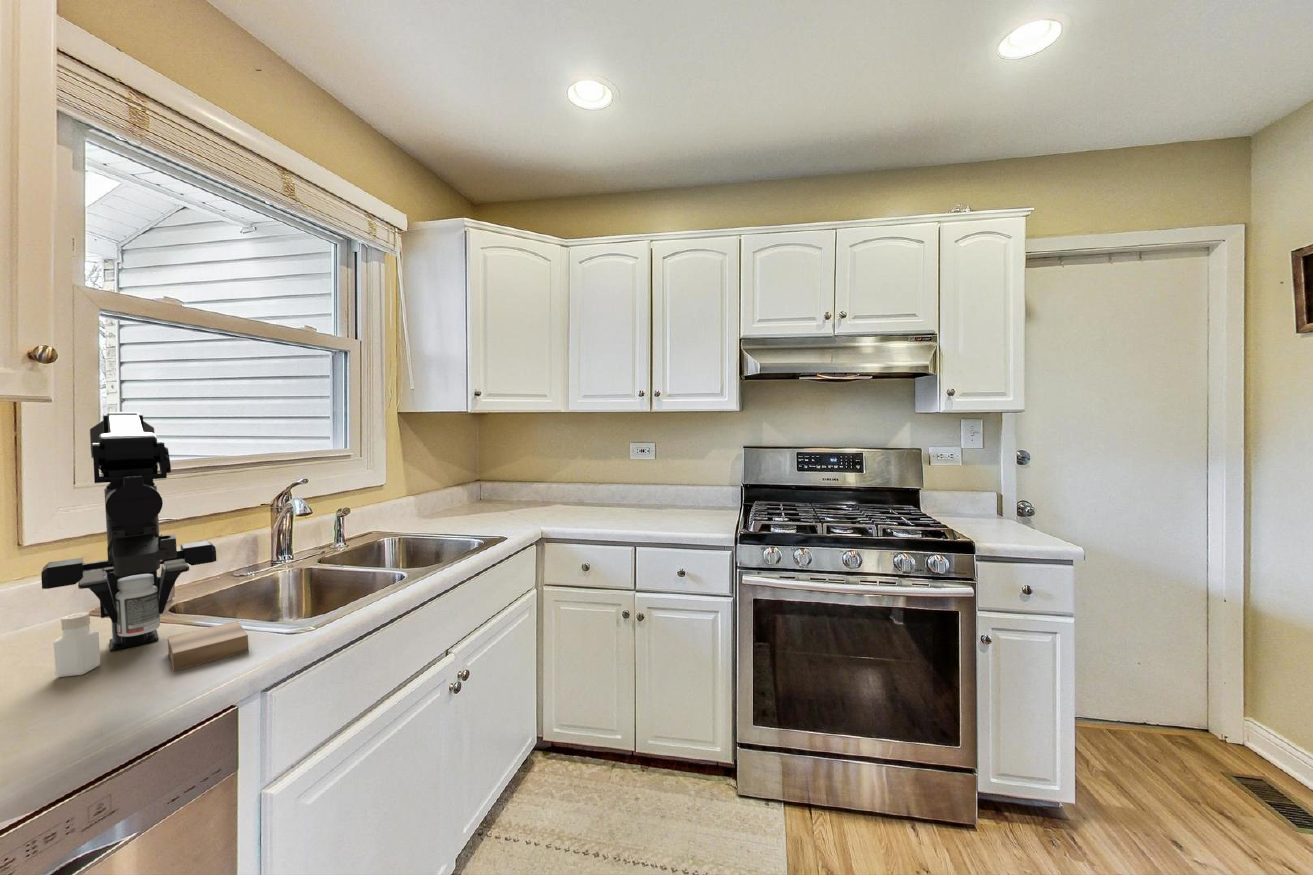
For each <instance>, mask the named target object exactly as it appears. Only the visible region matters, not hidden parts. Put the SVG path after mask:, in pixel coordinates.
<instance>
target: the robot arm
mask: <svg viewBox="0 0 1313 875" xmlns="http://www.w3.org/2000/svg"><path fill="white" fill-rule="evenodd" d="M89 437H90V438H89V440H90V443H89V444H90V451H91V452H90V454H91V455H90V456H91V459H92V460H93V476H94V484H104V483H107V485H106V486H105V488H104V490H103V492H104V493H103V494H104V506H105V511H104V512H105V519H106V520H105V526H106V540H107V542H106V543H107V548H106V549H107V550H106V551H107V552H106V553H107V559H106V560H105V559H104V560H98V561H93V562H92V561H90V562H85V563H84V557H78V558H71V559H63V560H57V561H56V560H55V561H49V562H48V563H46V564H45V565H44V566H43V567H42V570H41V589H42V590H49V589H54V588H60V587H62V588H63V587H66V586H67V587H68V586H73V585H76V584H77V583H78V584H77V586H78V588H77V589H79V590H84V589H89V590H90V591H91V592H92V593H93V594H94V595H95V596H96V597H97V599H99V605H100V606H99V607H100V618H101V619H105V618H107V617H109V619H110V620H111V636H112V637H111V638H110V639H109V651H110V652H112V651H119V650H121V649H127V648H130V647H134V646H135V647H136V646H139V645H143V644H148V643H151V642H156V641H159V640H160V638H159V637H160V636H159V634H158V631H157V630H158V629H156V630H153V631H151V632H148V633H144V634H141V635H136V636H119V635H118V633H117V616H116V602H115V595H116V594H117V593H118V592H119V591H120V590H118V588H117V581H118V580H119V579H121V578H124V577H128V576H133V575H140V574H153V575H154V584H153V586H156V587H157V588H158V599H159V615H162V614H164V612H165V608H166V606H167V603H168V600H169V597H170V595H171V592H172V590H173V587H174V585H175V583H176V581H177V579H178V578H179V577H180V575H181V574H182V573H185V572H189V571H190V566H197V565H203V564H210V563H215V562H217V560H218V559H217V549H216V546H215V545H214V544H213V543H211V541H208V540H202V541H201V540H200V541H196V542H195V541H193V542H187V543H181V544H180V549H177V537H176V534H175V533H173V534H172V533H171V534H165V535H163V534H162V535H160V524H159V521H160V520H159V519H160V518H159V514H160V513H161V511H162V509H163V498H162V496H161V494H160V493H159V492H158V487H157V484H155V482H154V480H160V479H162V480H163V479H167V477H168V474H169V473H170V474H171V473H172V467H171V466H172V465H171V460H170V454H169V453H170V452H169V447H167V446H165V442H164V441H163V440H158V437H157V435H156V434H155V428H154V427H153V426H152V425H150V424H149V423H148V422H145V421H144V413H139V412H137V411H133V412H129V411H127V412H126V411H124V412H123V411H118V412H117V411H116V412H115V411H114V412H113V411H110V412H107V413H103V414H102V421H100V422H99V423H97V424H96V425H94V426H92V427H91V428H90V429H89ZM158 470H159V472H158ZM100 473H101V474H102V476H100ZM189 565H190V566H189ZM160 568H161V570H160V574H158V570H159V569H160Z"/></svg>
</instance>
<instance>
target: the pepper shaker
mask: <svg viewBox="0 0 1313 875" xmlns="http://www.w3.org/2000/svg"><path fill="white" fill-rule="evenodd" d="M90 620H91V616H90V613H89V612H77V613H72V614H68V615H65V616H62V617H61V619H60V621H61V624H60V625H61V631H62V636H60V637H58V638H57V639H55V641H53V650H54V651H53V652H54V667H55V668H54V669H55V675H56V677H57V678H62V677H73V676H74V677H75V676H81V675H85V674H87V673H88V672H90V671H92V670H94V669H96V668H97V667H99V666H100V664H101V651H100V648H101V647H100V634H99V631H97V630H92V629H90V624H91V621H90Z"/></svg>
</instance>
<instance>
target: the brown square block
mask: <svg viewBox="0 0 1313 875" xmlns="http://www.w3.org/2000/svg"><path fill="white" fill-rule="evenodd" d="M167 647H168V648H167V650H168V655H169V659H170V662H171V666H172V670H173V671H174V672H176V671H180V670H183V669H187V668H191V667H195V666H200V665H203V664H206V663H210V662H214V661H218V660H222V659H225V658H229V657H233V656H237V655H241V654H244V653H249V650H250V649H249V635H248V634H247V632H246V631H245V629H244V628H243V627H242V625H241V624H240V622H239V620H237V621H232V622H228V623H222V624H218V625H215V626H210V627H206V628H201V629H197V630H193V631H189V632H184V633H178V634H175V635H172V636H167Z"/></svg>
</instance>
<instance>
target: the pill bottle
mask: <svg viewBox="0 0 1313 875" xmlns="http://www.w3.org/2000/svg"><path fill="white" fill-rule="evenodd" d="M153 584H154V575H153V574H140V575H133V576H128V577H124V578H121V579H119V580H118V581H117V588H118V590H120V591H119V592H118V593H117V594H116V595H115V602H116V616H117V633H118V635H119V636H136V635H141V634H144V633H148V632H151V631H153V630H158V629H159V628H160V626H161V618H160V617H161V616H160V615H161V614H159V599H158V588H157V587H156V586H153Z"/></svg>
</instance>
